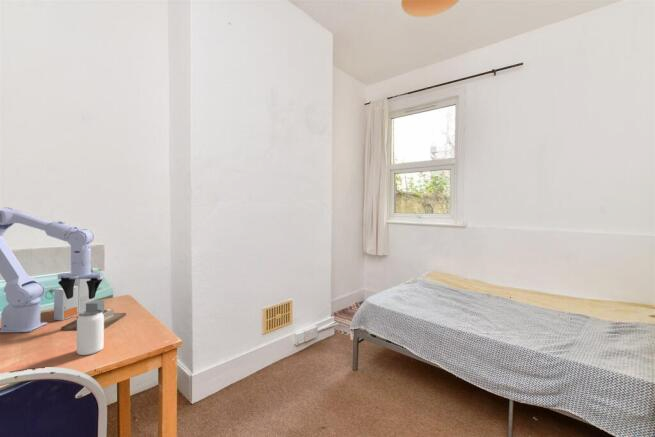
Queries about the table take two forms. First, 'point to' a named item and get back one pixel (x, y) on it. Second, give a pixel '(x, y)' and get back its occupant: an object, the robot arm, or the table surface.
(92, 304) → the grey peg
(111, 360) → the table surface
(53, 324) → the table surface
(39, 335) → the table surface
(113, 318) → the socket board
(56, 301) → the skincare box
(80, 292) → the skincare box
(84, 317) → the can
